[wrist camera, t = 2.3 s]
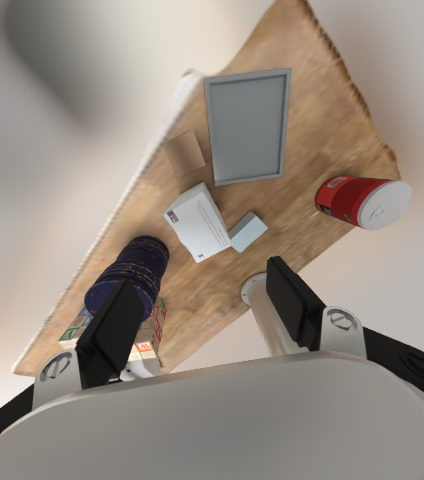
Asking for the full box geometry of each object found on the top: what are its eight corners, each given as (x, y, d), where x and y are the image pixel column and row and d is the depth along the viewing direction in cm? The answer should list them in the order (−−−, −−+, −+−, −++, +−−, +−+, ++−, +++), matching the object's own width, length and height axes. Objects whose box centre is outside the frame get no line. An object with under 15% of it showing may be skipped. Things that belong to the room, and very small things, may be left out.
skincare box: (221, 214, 33) (237, 247, 20) (197, 227, 34) (198, 266, 21) (202, 178, 30) (205, 189, 16) (176, 193, 31) (160, 216, 17)
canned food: (307, 209, 35) (351, 227, 25) (325, 171, 31) (384, 175, 21) (336, 215, 36) (388, 234, 26) (356, 179, 32) (425, 186, 23)
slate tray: (285, 74, 24) (291, 67, 22) (277, 176, 31) (282, 176, 29) (203, 84, 24) (204, 78, 22) (214, 184, 30) (215, 185, 29)
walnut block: (193, 135, 27) (193, 129, 22) (204, 165, 29) (206, 165, 24) (168, 147, 27) (162, 144, 23) (181, 175, 29) (178, 177, 25)
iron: (136, 370, 59) (118, 432, 45) (108, 333, 48) (73, 399, 34) (163, 366, 59) (154, 425, 45) (142, 327, 48) (120, 390, 34)
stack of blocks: (93, 321, 45) (60, 371, 34) (84, 306, 42) (43, 356, 31) (166, 311, 46) (156, 358, 35) (161, 296, 43) (149, 342, 32)
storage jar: (147, 226, 33) (113, 268, 20) (178, 256, 37) (167, 307, 24) (117, 251, 35) (68, 304, 22) (149, 276, 39) (124, 334, 26)
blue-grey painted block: (250, 210, 34) (256, 215, 30) (261, 221, 35) (268, 228, 32) (224, 234, 36) (227, 242, 32) (235, 244, 37) (239, 253, 34)
